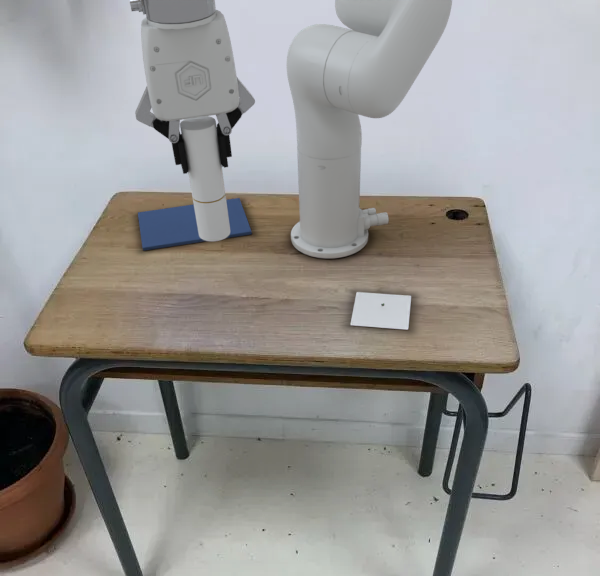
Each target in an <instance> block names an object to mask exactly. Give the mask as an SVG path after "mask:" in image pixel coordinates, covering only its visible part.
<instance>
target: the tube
mask: <svg viewBox="0 0 600 576" xmlns="http://www.w3.org/2000/svg"><path fill="white" fill-rule="evenodd" d="M216 120H217V119H215V118H214V117H212V116H204V117H197V118H190V119H183V120H181V121H180V127H179V129H180V134H182V139H183V141H184V146H185V152H186V158H187V163H188V169H189V172H187V175H188V180H189V184H190V192H191V197H192V205H193V204H194V210H195V215H196V221H197V227H198V233H199V237H200V238H201V239H203V240H205V241H204V242H218V241H222V240H225V239H227V238H226V237H228V236H229V234H230V224H229V217H228V209H227V202H226V200H227V196H226V188H225V180H224V173H223V167H222V164H221V158H220V150H219V143H218V136H217V122H216Z"/></svg>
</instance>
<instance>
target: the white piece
mask: <svg viewBox="0 0 600 576" xmlns="http://www.w3.org/2000/svg"><path fill="white" fill-rule="evenodd" d="M411 302H412V295H407V294H406V295H405V294H404V295H402V294H391V293H377V292H364V291H363V292H362V291H356V294H355V298H354V303H353V309H352V313H351V320H350V326H356V327H369V328H380V329H381V328H382V329H393V330H394V329H395V330H407V331H408V330H409V325H410V314H411V304H412V303H411Z"/></svg>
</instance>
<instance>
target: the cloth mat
mask: <svg viewBox="0 0 600 576" xmlns="http://www.w3.org/2000/svg"><path fill="white" fill-rule="evenodd" d="M226 202H227V209H228V217H229V224H230V234H229V236H228V237H226V238H225V239H229V238H237V237H243V236H251V235H252V234H253V232H252V228H251V226H250V223H249V221H248V217H247V215H246V211H245V209H244V207H243V204H242V201H241V198H240V197H235V198H230V199H228V198H227V199H226ZM137 219H138V225H139V233H140V240H141V248H142V251H150V250H159V249H164V248H170V247H171V248H172V247H177V246H183V245H190V244H197V243H204V242H206V241H205V240H203V239H201V238H200V237H199V233H198V227H197V221H196V215H195V210H194V204H193V203H192V204H187V205H181V206H173V207H166V208H160V209H152V210H146V211H145V210H144V211H139V212H137Z"/></svg>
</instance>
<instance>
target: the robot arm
mask: <svg viewBox="0 0 600 576" xmlns="http://www.w3.org/2000/svg"><path fill="white" fill-rule="evenodd" d="M129 5H130V10H131V12H138V13H142V15H143V16H144V15H145V16H146V17H144V18H143V19H142V20H141V24H140V40H141V50H142V51H141V52H142V60H143V69H144V74H145V81H146V87H145V89H144V92H143V93H142V95H141V97H140V99H139V102H138V105H137V107H136V109H135V112H134V114H135V119H136V121H137V122H140V123H141V124H144V125H145V126H148V127H151V128H153V129H154V130H155V131H156V132H158V133H159V134H160V135H162V136H163V137H165V138H166V139H168V140H169V142H170V143H171V146H172V152H173V160H174V163H175V166H179V165H180V166H181V170H182V174H183V175H185V174H188V172H189V169H188V163H187V158H186V152H185V146H184V141H183V139H182V134H181V130H180V123H181V121H183V120H184V119H190V118H197V117H204V116H210V117H212V116H215V118H216V120H217V123H216V127H217V136H218V143H219V150H220V158H221V164H222V168H229V161H228V158H232V157H233V153H232V145H231V138H230V135H231V134H232V131H233V128H234V127H235V126H236V125H237V124H238V122H239V121H240V119H242V116H243V115H244V114H246V113H247V112H248V111H249V110H250V109H251V108H252V107H253V106H254V105H255V104H256V100H255V98H254V96H253V94H252V93H251V91H250V90H249V89H248V88H247V87H246V85H244V83H243V82H242V81H241V80H240V78H239V77H237V70H236V64H235V57H234V52H233V47H232V41H231V37H230V33H229V28H228V25H227V22H226V18H225V15H224V14H223V13H222V12H221V11H220V10H218V9H217V8H216V0H129ZM452 7H453V0H334V8H335V13H336V16H337V18H338V19H339V21H340V22H341V24H342V25H344V26H346V27H347V28H346V27H342V26H338V25H334V24H328V23H319V24H317V23H316V24H312V25H309V26H306V27H304V28H303V29H301V30H300V31H298V32H297V34H296V35H295V36H294V38H293V39H292V40H291V42H290V45H289V47H288V51H287V55H286V74H287V75H286V76H287V81H288V82H287V83H288V85H289V90H290V94H291V98H292V105H293V108H294V109H293V110H294V116H295V117H294V118H295V127H296V129H295V131H296V155H297V159H296V160H297V180H298V181H297V182H298V183H297V184H298V186H297V187H298V208H299V209H298V211H299V221H297V223H295V224H294V225H293V227H292V228H291V231H290V242H291V244H292V246H293V247H294V248H295V249H296V250H297V251H299V252H300V253H302V254H303V255H306V256H309V257H312V258H317V259H339V258H344V257H348V256H352V255H354V254H356V253H358V252H359V251H361V250H362V249H363V248H364V247H365V246H366V245H367V244H368V242H369V229H370V228H371V227H374V226H375V227H376V226H379V227H380V226H385V225H388V224H389V220H390V219H389V214H388V212H386V211H385V212H378V213H377V209H376V207H369V208H366V209H362V208H361V207H360V206H361V205H360V202H361V201H360V200H361V198H360V197H361V196H360V195H361V170H362V169H361V166H362V142H363V141H362V139H363V137H362V136H363V133H362V126H361V119H360V116H363V117H365V118H370V119H382V118H385V117H387V116H389V115H391V114H392V113H394V112H395V110H397V108H398V107H399V106H400V105H401V103H402V102H403V101H404V99H405V98H406V96H407V94H408V93H409V92H410V90H411V88H412V86H413V85H414V83H415V81H416V80H417V78H418V77H419V75H420V73H421V71H422V70H423V68H424V67H425V65H426V63H427V61H428V60H429V58H430V57H431V55H432V53H433V52H434V50H435V49H436V47H437V45H438V43H439V41H440V39H441V38H442V36H443V34H444V32H445V30H446V28H447V25H448V21H449V19H450V15H451V10H452ZM151 111H152V112H151Z"/></svg>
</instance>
